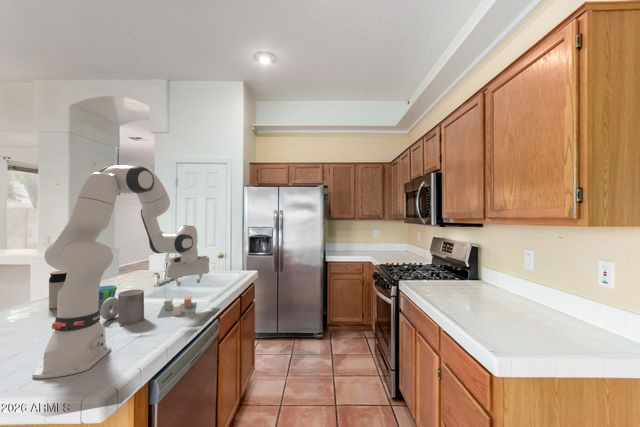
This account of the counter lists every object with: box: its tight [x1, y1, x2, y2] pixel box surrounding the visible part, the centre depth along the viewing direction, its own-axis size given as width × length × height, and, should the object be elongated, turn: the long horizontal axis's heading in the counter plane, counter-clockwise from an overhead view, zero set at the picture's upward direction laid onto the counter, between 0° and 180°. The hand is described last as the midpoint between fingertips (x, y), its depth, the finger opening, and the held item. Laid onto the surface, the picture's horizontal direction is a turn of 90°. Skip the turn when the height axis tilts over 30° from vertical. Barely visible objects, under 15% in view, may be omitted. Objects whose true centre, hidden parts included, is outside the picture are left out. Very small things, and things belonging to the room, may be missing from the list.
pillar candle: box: [117, 288, 145, 328], centre depth 135 cm, size 10×10×15 cm
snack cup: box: [98, 285, 118, 310], centre depth 157 cm, size 16×10×10 cm
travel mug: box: [48, 270, 67, 310], centre depth 157 cm, size 8×8×18 cm
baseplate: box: [156, 301, 197, 319], centre depth 150 cm, size 20×16×1 cm
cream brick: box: [173, 302, 182, 317], centre depth 145 cm, size 6×3×4 cm, turn 20°
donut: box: [99, 296, 118, 321], centre depth 140 cm, size 10×4×10 cm, turn 175°
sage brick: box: [163, 297, 173, 310], centre depth 153 cm, size 6×3×4 cm, turn 20°
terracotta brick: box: [183, 295, 192, 308], centre depth 156 cm, size 6×3×4 cm, turn 20°
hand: (188, 284), depth 157 cm, fingers open, 8 cm apart
